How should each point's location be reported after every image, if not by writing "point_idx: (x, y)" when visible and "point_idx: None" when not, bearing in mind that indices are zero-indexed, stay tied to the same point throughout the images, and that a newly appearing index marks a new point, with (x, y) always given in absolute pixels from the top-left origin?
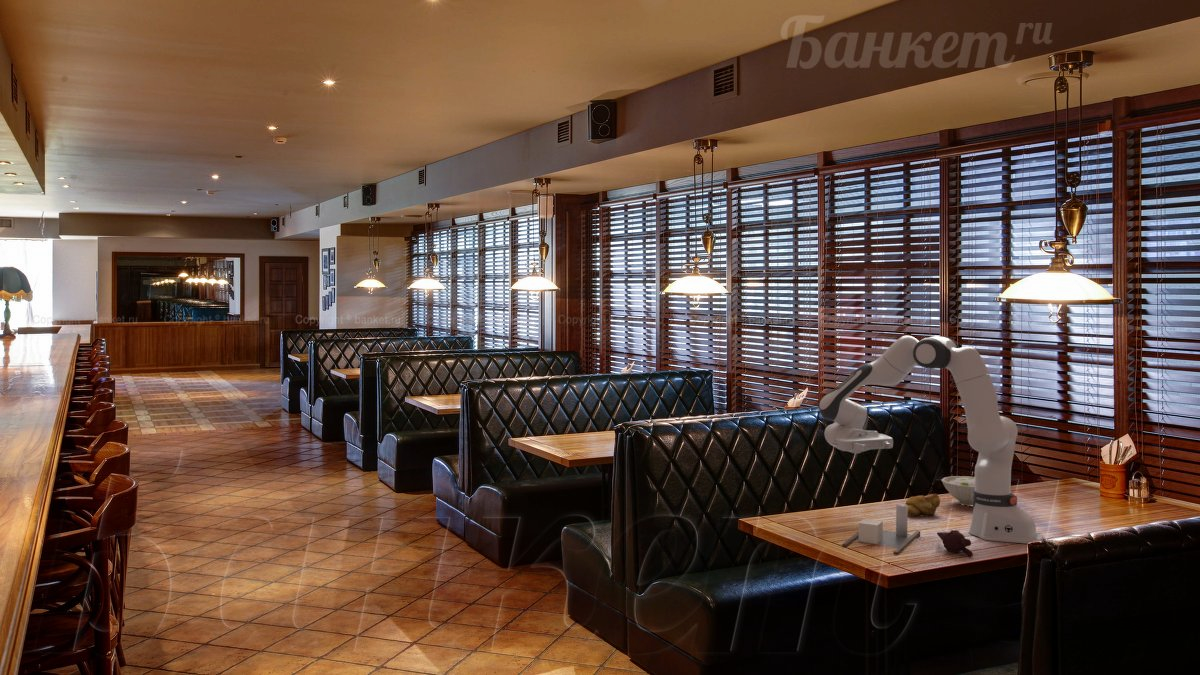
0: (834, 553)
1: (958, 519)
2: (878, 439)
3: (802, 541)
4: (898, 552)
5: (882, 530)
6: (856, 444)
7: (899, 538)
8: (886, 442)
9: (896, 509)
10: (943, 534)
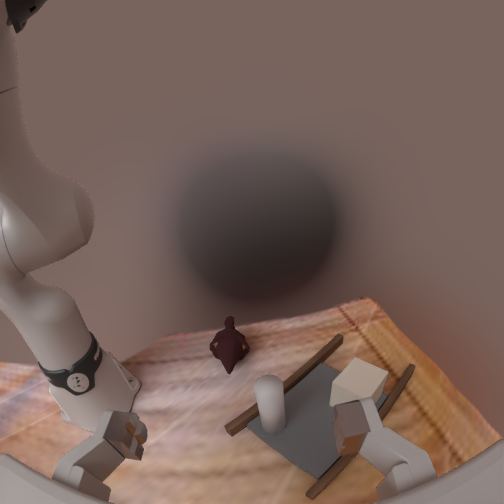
0: (425, 359)
1: None
2: (98, 501)
3: (472, 410)
4: (335, 336)
5: (331, 393)
6: (411, 448)
7: (291, 407)
8: (96, 442)
9: (283, 393)
10: (234, 352)
